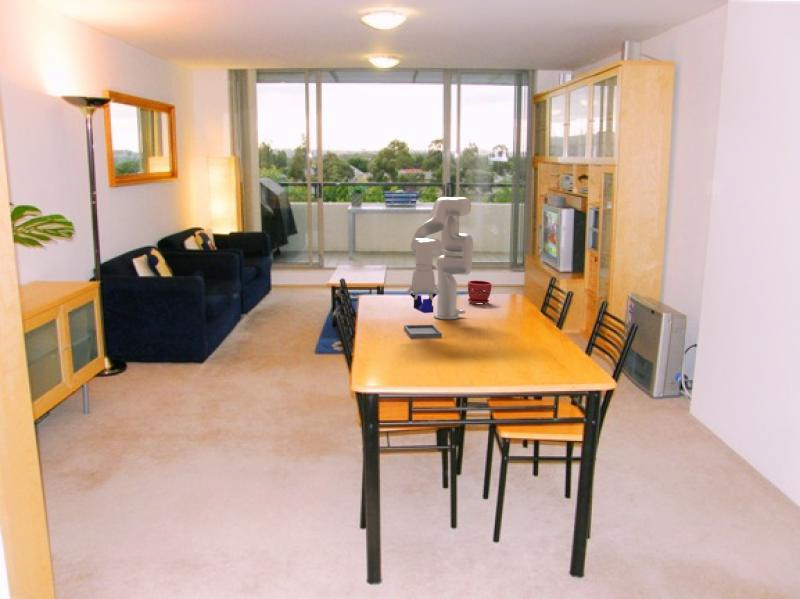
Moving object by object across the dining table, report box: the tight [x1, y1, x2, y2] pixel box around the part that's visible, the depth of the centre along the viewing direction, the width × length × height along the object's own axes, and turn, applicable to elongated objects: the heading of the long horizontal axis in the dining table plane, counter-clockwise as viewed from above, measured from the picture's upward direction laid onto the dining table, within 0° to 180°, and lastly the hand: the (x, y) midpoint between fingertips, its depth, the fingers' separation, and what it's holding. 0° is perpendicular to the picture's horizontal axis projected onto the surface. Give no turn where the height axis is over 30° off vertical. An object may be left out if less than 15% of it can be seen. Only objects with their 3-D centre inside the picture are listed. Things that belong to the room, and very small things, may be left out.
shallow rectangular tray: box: [403, 324, 443, 339], centre depth 327 cm, size 14×18×2 cm
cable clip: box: [413, 294, 434, 314], centre depth 324 cm, size 12×4×6 cm, turn 21°
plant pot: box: [467, 280, 492, 304], centre depth 402 cm, size 13×13×12 cm
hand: (422, 307), depth 325 cm, fingers closed on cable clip, 5 cm apart
